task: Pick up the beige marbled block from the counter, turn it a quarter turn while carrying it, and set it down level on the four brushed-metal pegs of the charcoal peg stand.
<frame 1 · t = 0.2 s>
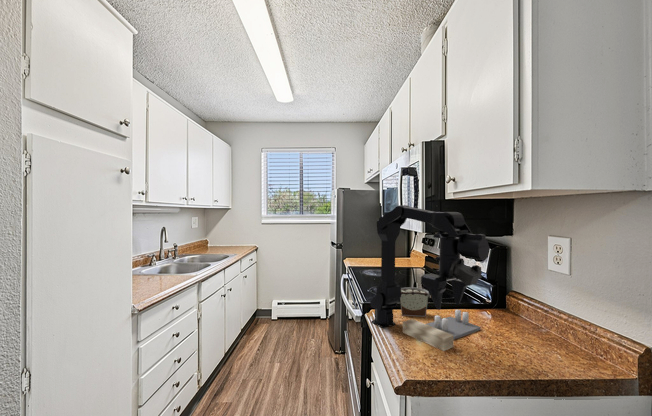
hand: (448, 306, 89), 14 cm above the counter, tool pointing down, fingers open, 9 cm apart
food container: (412, 313, 123), on the counter
peg stand: (451, 328, 108), on the counter
beige marbled block: (426, 340, 99), on the counter
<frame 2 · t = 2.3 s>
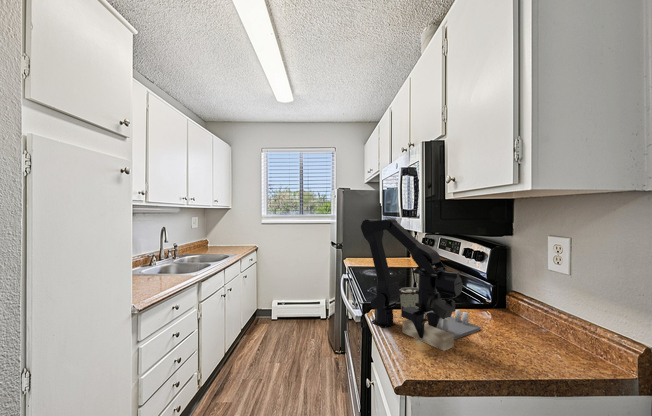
hand: (426, 336, 99), 1 cm above the counter, tool pointing down, fingers open, 5 cm apart
nothing on the counter moved.
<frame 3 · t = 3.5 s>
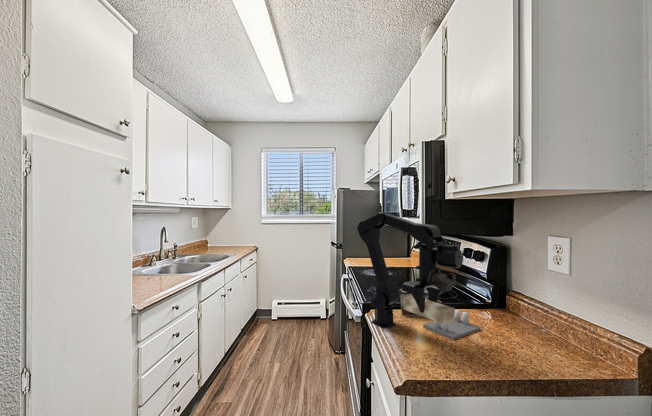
hand: (427, 311, 98), 9 cm above the counter, tool pointing down, fingers closed on beige marbled block, 5 cm apart
beige marbled block: (427, 314, 98), point 8 cm above the counter, touching gripper
everything else where it was.
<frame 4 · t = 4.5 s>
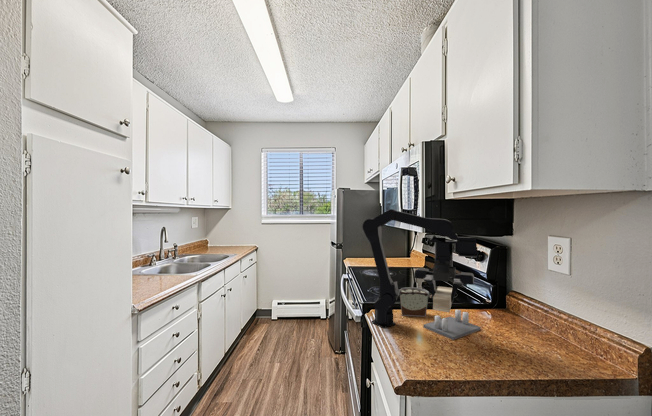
hand: (443, 300, 104), 11 cm above the counter, tool pointing down, fingers closed on beige marbled block, 5 cm apart
beige marbled block: (443, 304, 104), point 10 cm above the counter, touching gripper
everything else where it was.
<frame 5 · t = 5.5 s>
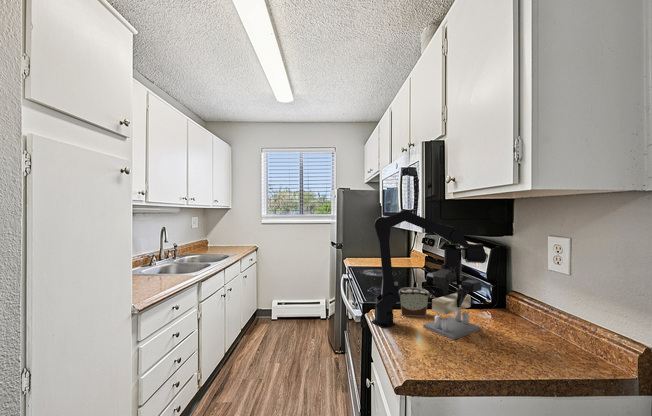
hand: (451, 305, 108), 8 cm above the counter, tool pointing down, fingers closed on beige marbled block, 5 cm apart
beige marbled block: (451, 308, 108), point 7 cm above the counter, touching gripper
everything else where it was.
when the fingers open (7 cm above the counter, at t = 6.5 s): beige marbled block stays where it is, resting on peg stand.
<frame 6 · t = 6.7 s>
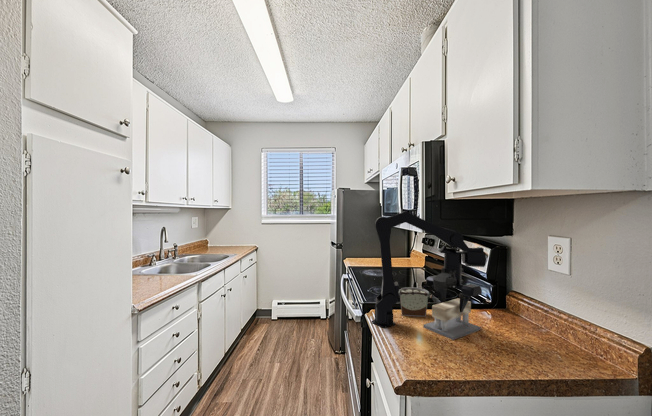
hand: (451, 309, 108), 7 cm above the counter, tool pointing down, fingers open, 7 cm apart
beige marbled block: (451, 314, 108), point 5 cm above the counter, touching peg stand
everything else where it was.
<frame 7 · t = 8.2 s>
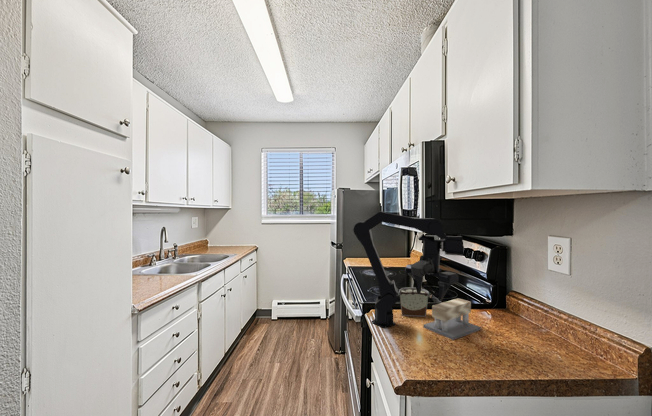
hand: (429, 296, 107), 11 cm above the counter, tool pointing down, fingers open, 9 cm apart
nothing on the counter moved.
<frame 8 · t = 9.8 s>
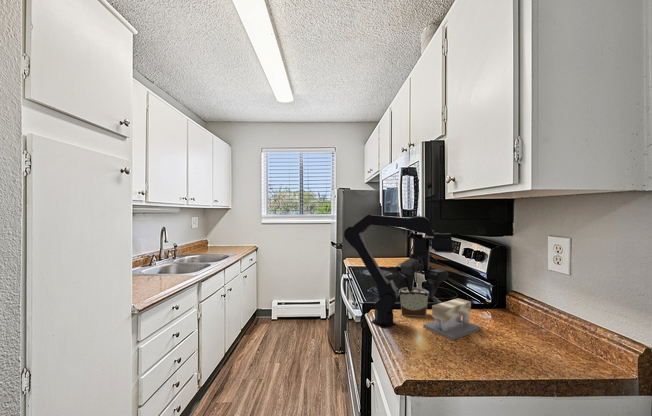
hand: (420, 295, 107), 12 cm above the counter, tool pointing down, fingers open, 9 cm apart
nothing on the counter moved.
at the end: beige marbled block 0.1 cm from the peg stand (horizontally); beige marbled block point 5.0 cm above the counter; beige marbled block tilted 0° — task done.
